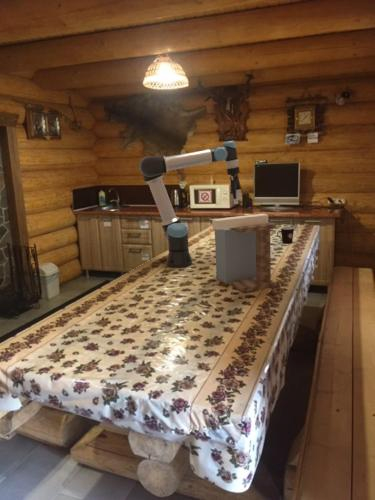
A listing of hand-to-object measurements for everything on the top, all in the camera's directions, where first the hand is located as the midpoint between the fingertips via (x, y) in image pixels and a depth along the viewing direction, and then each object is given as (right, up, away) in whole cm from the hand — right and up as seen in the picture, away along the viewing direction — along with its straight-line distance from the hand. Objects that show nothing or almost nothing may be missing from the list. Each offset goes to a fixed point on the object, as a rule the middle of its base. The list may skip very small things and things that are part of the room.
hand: (238, 201), depth 259 cm
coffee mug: (+36, -25, +28) cm, 52 cm away
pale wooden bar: (-7, -18, -66) cm, 69 cm away
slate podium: (-6, -44, -44) cm, 62 cm away
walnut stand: (+1, -47, -57) cm, 74 cm away
